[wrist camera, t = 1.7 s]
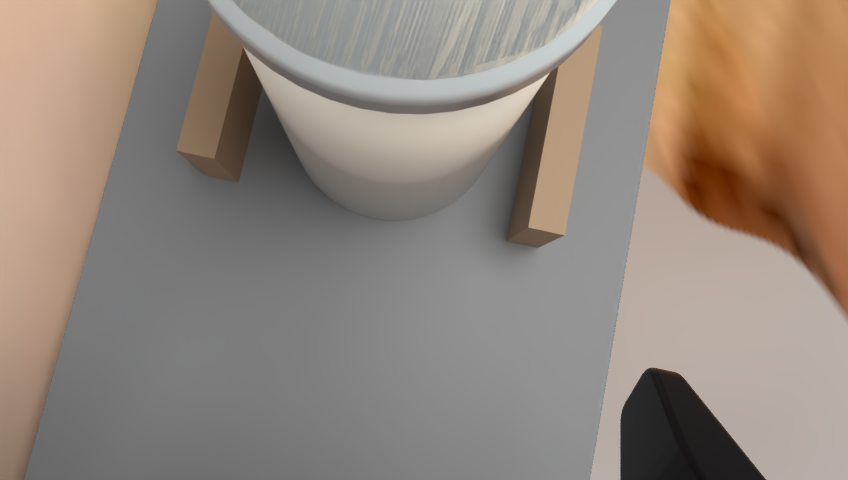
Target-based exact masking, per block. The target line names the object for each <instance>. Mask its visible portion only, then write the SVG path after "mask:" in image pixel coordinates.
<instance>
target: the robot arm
mask: <svg viewBox="0 0 848 480" xmlns="http://www.w3.org/2000/svg"><path fill="white" fill-rule="evenodd" d="M621 480H766V479H765V478H764V477H763V475H761V473H760V472H759V471H758V469H757V468H756V467H755V465H754V464H753V463H752V462H751V461H750V460H749V458H748V457H747V456H746V455H745V453H744V452H743V451H742V449H741V448H740V447H739V446H738V444H737V443H736V442H735V441H734V440H733V438H732V437H731V436H730V435H729V434H728V432H727V431H726V430H725V428H724V427H723V426H722V425H721V423H720V422H719V421H718V420H717V419H716V417H715V416H714V415H713V414H712V412H711V411H710V410H709V409H708V407H707V406H706V405H705V404H704V403H703V401H702V400H701V399H700V398H699V396H698V395H697V394H696V393H695V391H694V390H693V389H692V388H691V386H690V385H689V384H688V383H687V382H686V380H685V379H684V378H683V377H682V376H681V375H680V374H678V373H676V372H671V371H666V370H662V369H657V368H649V369H647V370H646V371H645V372H644V373H643V374H642V376H641V378H640V379H639V381H638V382H637V384H636V386H635V388H634V389H633V391H632V393H631V394H630V396H629V398H628V399H627V401H626V402H625V405H624V407H623V410H622V414H621Z"/></svg>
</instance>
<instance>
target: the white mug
mask: <svg viewBox="0 0 848 480" xmlns="http://www.w3.org/2000/svg"><path fill="white" fill-rule="evenodd" d="M616 1H617V0H206V2H207V4H208V5H209V7H210V8H211V9H212V11H213V12H214V13H215V15H216V16H217V17H218V19H219V20H220V21H221V23H222V24H223V25H224V27H225V28H226V29H227V30H228V31H229V32H230V33H231V34H232V35H233V37H234V38H235V39H236V40H237V41H238V42H239V43H240V44H241V45H242V46H243V47H244V49H245V51H246V54H247V56H248V58H249V60H250V62H251V64H252V66H253V68H254V70H255V72H256V74H257V76H258V78H259V80H260V82H261V84H262V86H263V88H264V90H265V92H266V94H267V96H268V98H269V100H270V102H271V104H272V106H273V108H274V110H275V112H276V114H277V116H278V118H279V120H280V122H281V124H282V126H283V128H284V130H285V132H286V134H287V136H288V138H289V140H290V142H291V144H292V146H293V148H294V150H295V152H296V154H297V156H298V158H299V160H300V162H301V164H302V166H303V168H304V169H305V171H306V173H307V174H308V176H309V177H310V178H311V180H312V181H313V183H314V184H315V185H316V186H317V187H318V188H319V189H320V190H321V191H322V192H323V193H324V194H325V195H326V196H328V197H329V198H330V199H331V200H333V201H334V202H335V203H337V204H339V205H340V206H342V207H344V208H345V209H347V210H349V211H352V212H354V213H356V214H359V215H362V216H365V217H369V218H373V219H379V220H386V221H402V220H411V219H416V218H420V217H424V216H428V215H430V214H433V213H435V212H438V211H440V210H442V209H444V208H445V207H447V206H449V205H451V204H452V203H454V202H455V201H456V200H458V199H459V198H460V197H462V196H463V195H464V194H465V193H466V192H467V191H468V190H469V189H470V188H471V187H472V185H473V184H474V183H475V182H476V180H477V179H478V178H479V176H480V175H481V173H482V172H483V171H484V169H485V168H486V166H487V165H488V163H489V162H490V160H491V159H492V157H493V156H494V154H495V153H496V151H497V150H498V148H499V147H500V146H501V144H502V143H503V141H504V140H505V138H506V137H507V135H508V134H509V132H510V131H511V129H512V128H513V126H514V125H515V123H516V122H517V121H518V119H519V118H520V116H521V115H522V113H523V112H524V110H525V109H526V107H527V106H528V104H529V103H530V101H531V100H532V98H533V97H534V95H535V94H536V93H537V91H538V90H539V88H540V87H541V85H542V84H543V82H544V81H545V79H546V78H547V76H548V75H549V73H550V72H551V71H552V70H554V69H555V68H557V67H558V66H559V65H561V64H562V63H563V62H565V61H566V60H567V59H568V58H569V57H570V56H571V55H572V54H573V53H574V52H575V51H576V50H577V49H578V48H579V47H580V46H581V45H582V44H583V43H584V42H585V41H586V40H587V39H588V38H589V36H590V35H591V34H592V32H593V31H594V30H595V29H596V27H597V26H598V25H599V24H600V22H601V21H602V20H603V18H604V17H605V16H606V14H607V13H608V12H609V10H610V9H611V8H612V6H613V5H614V3H615V2H616Z"/></svg>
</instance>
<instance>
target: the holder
mask: <svg viewBox="0 0 848 480" xmlns="http://www.w3.org/2000/svg"><path fill="white" fill-rule="evenodd" d="M669 6H670V0H617V1H616V2H615V3H614V5H613V6H612V8H611V9H610V10H609V12H608V13H607V14H606V16H605V17H604V18H603V20H602V21H601V22H600V24H599V25H598V26H597V27H596V29H595V30H594V31H593V32H592V34H591V35H590V36H589V38H588V39H587V40H586V41H585V42H584V43H583V44H582V45H581V46H580V47H579V48H578V49H577V50H576V51H575V52H574V53H573V54H572V55H571V56H570V57H569V58H568V59H567V60H566V61H565V62H563V63H562V64H561V65H559V66H558V67H557V68H555V69H554V70H552V71H551V72H550V73H549V75H548V76H547V78H546V79H545V81H544V82H543V84H542V85H541V87H540V88H539V90H538V91H537V93H536V94H535V95H534V97H533V98H532V100H531V101H530V103H529V104H528V106H527V107H526V109H525V110H524V112H523V113H522V115H521V116H520V118H519V119H518V121H517V122H516V123H515V125H514V126H513V128H512V129H511V131H510V132H509V134H508V135H507V137H506V138H505V140H504V141H503V143H502V144H501V146H500V147H499V148H498V150H497V151H496V153H495V154H494V156H493V157H492V159H491V160H490V162H489V163H488V165H487V166H486V168H485V169H484V171H483V172H482V173H481V175H480V176H479V178H478V179H477V180H476V182H475V183H474V184H473V185H472V187H471V188H470V189H469V190H468V191H467V192H466V193H465V194H464V195H463V196H462V197H460V198H459V199H458V200H456V201H455V202H454V203H452V204H451V205H449V206H447V207H445V208H444V209H442V210H440V211H438V212H435V213H433V214H430V215H428V216H424V217H420V218H416V219H411V220H402V221H386V220H379V219H373V218H369V217H365V216H362V215H359V214H356V213H354V212H352V211H349V210H347V209H345V208H344V207H342V206H340V205H339V204H337V203H335V202H334V201H333V200H331V199H330V198H329V197H328V196H326V195H325V194H324V193H323V192H322V191H321V190H320V189H319V188H318V187H317V186H316V185H315V184H314V183H313V181H312V180H311V178H310V177H309V176H308V174H307V173H306V171H305V169H304V168H303V166H302V164H301V162H300V160H299V158H298V156H297V154H296V152H295V150H294V148H293V146H292V144H291V142H290V140H289V138H288V136H287V134H286V132H285V130H284V128H283V126H282V124H281V122H280V120H279V118H278V116H277V114H276V112H275V110H274V108H273V106H272V104H271V102H270V100H269V98H268V96H267V94H266V92H265V90H264V88H263V86H262V84H261V82H260V80H259V78H258V76H257V74H256V72H255V70H254V68H253V66H252V64H251V62H250V60H249V58H248V56H247V54H246V51H245V49H244V47H243V46H242V45H241V44H240V43H239V42H238V41H237V40H236V39H235V38H234V37H233V35H232V34H231V33H230V32H229V31H228V30H227V29H226V28H225V27H224V25H223V24H222V23H221V21H220V20H219V19H218V17H217V16H216V15H215V13H214V12H213V11H212V9H211V8H210V7H209V5H208V4H207V2H206V0H158V1H157V5H156V8H155V12H154V16H153V19H152V23H151V26H150V30H149V33H148V37H147V41H146V44H145V48H144V51H143V55H142V58H141V62H140V66H139V69H138V73H137V76H136V80H135V83H134V87H133V91H132V94H131V98H130V101H129V105H128V109H127V112H126V116H125V119H124V123H123V126H122V130H121V134H120V137H119V141H118V144H117V148H116V151H115V155H114V159H113V162H112V166H111V169H110V173H109V177H108V180H107V184H106V187H105V191H104V194H103V198H102V202H101V205H100V209H99V212H98V216H97V219H96V223H95V227H94V230H93V234H92V237H91V241H90V245H89V248H88V252H87V255H86V259H85V262H84V266H83V270H82V273H81V277H80V280H79V284H78V287H77V291H76V295H75V298H74V302H73V305H72V309H71V312H70V316H69V320H68V323H67V327H66V330H65V334H64V338H63V341H62V345H61V348H60V352H59V355H58V359H57V363H56V366H55V370H54V373H53V377H52V380H51V384H50V388H49V391H48V395H47V398H46V402H45V406H44V409H43V413H42V416H41V420H40V423H39V427H38V431H37V434H36V438H35V441H34V445H33V448H32V452H31V456H30V459H29V463H28V466H27V470H26V473H25V477H24V480H590V475H591V469H592V463H593V457H594V452H595V446H596V440H597V434H598V428H599V422H600V416H601V410H602V404H603V398H604V392H605V386H606V380H607V374H608V368H609V362H610V356H611V350H612V345H613V338H614V333H615V327H616V321H617V315H618V309H619V303H620V297H621V291H622V285H623V279H624V273H625V267H626V262H627V255H628V250H629V244H630V238H631V231H632V226H633V220H634V214H635V208H636V202H637V196H638V190H639V184H640V178H641V172H642V167H643V161H644V155H645V149H646V143H647V137H648V131H649V125H650V119H651V113H652V107H653V101H654V95H655V89H656V83H657V77H658V71H659V66H660V60H661V54H662V48H663V42H664V36H665V30H666V24H667V18H668V12H669Z"/></svg>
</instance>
